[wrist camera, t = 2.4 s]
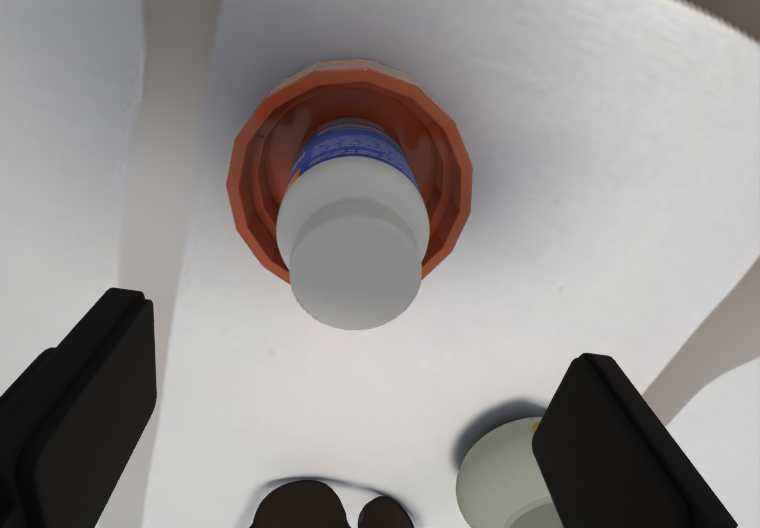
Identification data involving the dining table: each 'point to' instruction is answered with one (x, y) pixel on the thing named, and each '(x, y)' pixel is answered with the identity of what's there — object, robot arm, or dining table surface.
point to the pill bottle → (352, 226)
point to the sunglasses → (323, 509)
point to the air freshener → (505, 481)
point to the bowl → (338, 100)
